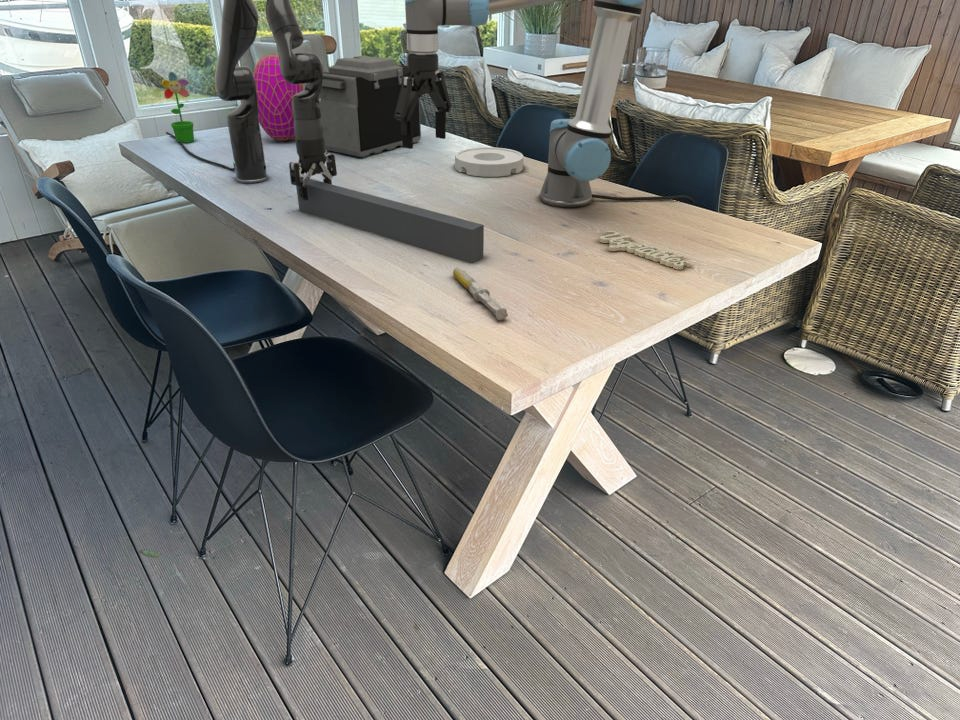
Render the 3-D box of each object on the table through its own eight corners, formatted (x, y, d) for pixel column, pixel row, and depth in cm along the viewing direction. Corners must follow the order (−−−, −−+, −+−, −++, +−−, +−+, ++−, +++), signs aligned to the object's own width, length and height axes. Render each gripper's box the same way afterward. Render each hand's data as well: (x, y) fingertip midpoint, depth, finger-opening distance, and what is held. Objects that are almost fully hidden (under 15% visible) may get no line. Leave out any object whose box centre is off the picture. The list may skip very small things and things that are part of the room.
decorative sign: (585, 238, 173) (610, 229, 179) (584, 241, 173) (610, 233, 179) (673, 269, 156) (698, 259, 162) (672, 273, 156) (697, 262, 162)
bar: (483, 257, 164) (483, 224, 160) (471, 263, 161) (472, 229, 157) (311, 206, 196) (308, 178, 192) (299, 210, 193) (295, 181, 188)
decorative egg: (293, 132, 276) (283, 50, 261) (319, 140, 264) (310, 56, 249) (249, 139, 265) (236, 54, 250) (273, 148, 253) (261, 60, 238)
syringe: (449, 274, 155) (449, 263, 153) (465, 272, 156) (464, 260, 154) (490, 323, 135) (491, 310, 133) (508, 319, 136) (508, 307, 134)
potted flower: (174, 144, 256) (159, 72, 244) (172, 140, 262) (157, 69, 250) (201, 142, 260) (187, 71, 247) (197, 137, 266) (184, 68, 253)
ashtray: (457, 158, 244) (457, 146, 242) (522, 159, 243) (522, 147, 241) (452, 176, 224) (452, 163, 222) (523, 177, 223) (524, 165, 221)
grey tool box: (383, 133, 276) (378, 52, 261) (425, 141, 265) (422, 56, 250) (314, 150, 251) (304, 61, 235) (358, 160, 240) (350, 67, 224)
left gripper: (320, 129, 188) (326, 188, 196) (278, 138, 178) (287, 199, 186) (339, 133, 184) (345, 192, 192) (297, 142, 174) (305, 205, 182)
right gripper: (441, 47, 176) (442, 132, 187) (376, 56, 158) (381, 149, 169) (465, 49, 172) (464, 136, 183) (401, 59, 155) (404, 154, 165)
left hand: (316, 196), depth 189 cm, fingers open, 8 cm apart
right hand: (424, 142), depth 176 cm, fingers open, 13 cm apart
